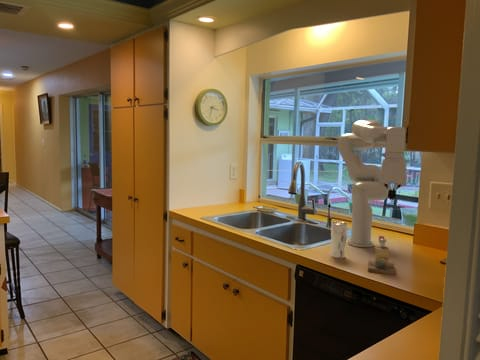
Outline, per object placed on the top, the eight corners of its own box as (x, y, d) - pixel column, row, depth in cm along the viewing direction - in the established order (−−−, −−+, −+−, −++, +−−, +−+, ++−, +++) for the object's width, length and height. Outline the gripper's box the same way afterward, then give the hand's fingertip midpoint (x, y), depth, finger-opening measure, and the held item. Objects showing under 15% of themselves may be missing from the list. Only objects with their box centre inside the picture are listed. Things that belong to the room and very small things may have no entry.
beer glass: (334, 252, 179) (335, 220, 178) (348, 255, 175) (350, 223, 173) (327, 256, 174) (328, 223, 172) (341, 259, 170) (343, 225, 168)
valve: (368, 264, 164) (369, 243, 163) (393, 267, 160) (395, 245, 160) (367, 271, 154) (369, 249, 153) (395, 275, 151) (396, 252, 150)
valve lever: (386, 248, 155) (386, 240, 154) (379, 248, 155) (379, 240, 155) (384, 242, 164) (384, 234, 164) (377, 241, 165) (378, 234, 164)
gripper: (375, 156, 163) (373, 199, 165) (414, 157, 158) (411, 201, 160) (375, 155, 170) (373, 197, 172) (412, 156, 165) (409, 199, 167)
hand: (391, 199), depth 166 cm, fingers closed
